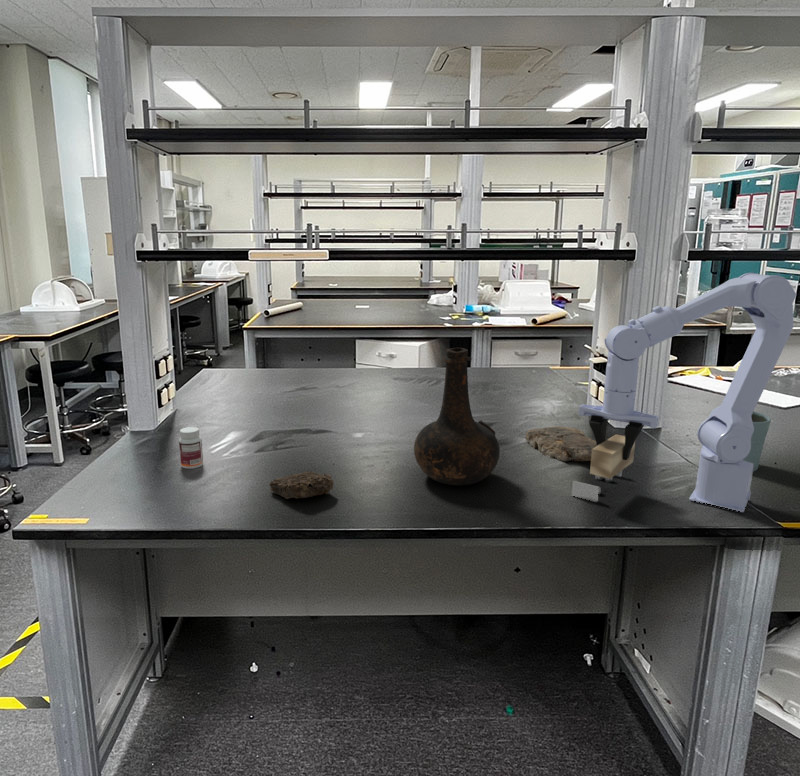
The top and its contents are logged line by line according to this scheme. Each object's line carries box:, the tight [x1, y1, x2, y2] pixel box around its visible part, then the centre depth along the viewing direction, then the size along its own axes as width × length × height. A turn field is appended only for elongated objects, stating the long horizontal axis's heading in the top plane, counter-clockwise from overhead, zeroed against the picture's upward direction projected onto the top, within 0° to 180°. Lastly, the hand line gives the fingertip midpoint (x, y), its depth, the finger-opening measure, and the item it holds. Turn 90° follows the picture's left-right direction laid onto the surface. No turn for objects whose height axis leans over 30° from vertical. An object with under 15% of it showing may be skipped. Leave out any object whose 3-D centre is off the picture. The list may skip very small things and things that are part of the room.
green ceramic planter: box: [743, 410, 772, 472], centre depth 137 cm, size 10×10×12 cm
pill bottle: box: [178, 426, 204, 470], centre depth 135 cm, size 5×5×8 cm
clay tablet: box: [524, 426, 597, 462], centre depth 146 cm, size 14×5×20 cm
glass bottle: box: [413, 347, 501, 486], centre depth 127 cm, size 18×18×28 cm
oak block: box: [589, 433, 636, 479], centre depth 119 cm, size 4×12×5 cm, turn 140°
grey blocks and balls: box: [570, 470, 623, 503], centre depth 126 cm, size 5×17×3 cm, turn 144°
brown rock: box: [269, 471, 335, 500], centre depth 120 cm, size 12×10×5 cm
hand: (613, 455), depth 120 cm, fingers closed on oak block, 4 cm apart
